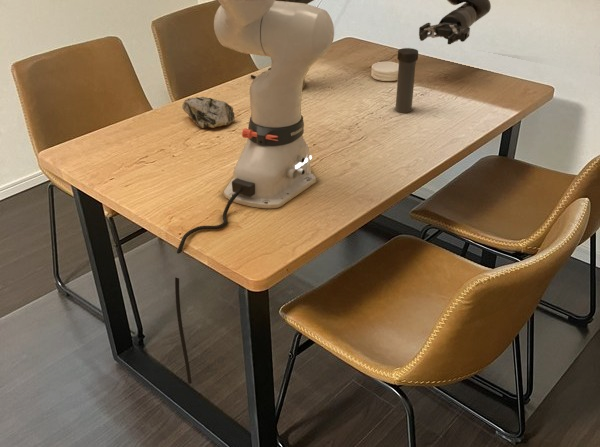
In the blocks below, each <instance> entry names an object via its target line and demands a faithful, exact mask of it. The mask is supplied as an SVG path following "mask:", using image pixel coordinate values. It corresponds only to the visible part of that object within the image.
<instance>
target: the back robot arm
mask: <svg viewBox="0 0 600 447" xmlns="http://www.w3.org/2000/svg"><path fill="white" fill-rule="evenodd" d="M276 1H284V2H295V3H305V4H308V5H309V3H312V2H314V1H315V0H276ZM446 1H447V2H448V3H449V4H450V5H452V6H458V5H459V4H461V5H460V6H459V7H457V8H456V9H453V10H452V11H450V12H449V13H447V14H446V15H444V16H443V17H442V18H441V19H440V20H439V22H438V23H437V24H433V25H432V23H431V22H426V23H424V24H423V25H421V26H420V27H418V28H419V29H418V38H419V41H421V42H424V40H426V39H427V38H432V39H435V38H444V39H445V40H447V45H452V44H454V43H455V42H458V41H460V42H462V43H463V42H466V41H467V39H468V38H469V37H470V34H471V33H470V32H471V27H472V26H473V25H474V24H475V23H476V22H478V21H479V20H481V19H482V18H483V17H485V16H486V15H487V14H488V13H490V12H491V9H492V5H491V1H490V0H446ZM270 69H271V67H269V68H267V70H265V71H262V72H261V73H260V74H262V73H263V72H266V71H268V70H270ZM256 77H257V75H254V74H250V78H252V79H255V78H256ZM305 79H306V77H305V78H304V81H303V86H302V90H303V89H305V87H306V80H305Z"/></svg>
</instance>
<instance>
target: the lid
mask: <svg viewBox="0 0 600 447" xmlns="http://www.w3.org/2000/svg"><path fill="white" fill-rule="evenodd" d="M418 59H419V50H418V49H416V48H411V47H403V48H399V49H398V50H397V61H398V62H399V61H403V62H414V61H416V62H417V61H418Z"/></svg>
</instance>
